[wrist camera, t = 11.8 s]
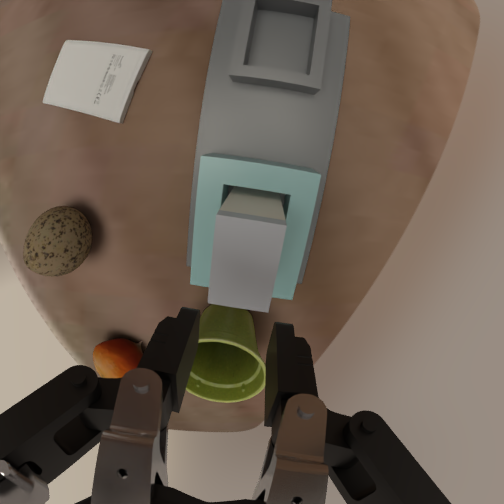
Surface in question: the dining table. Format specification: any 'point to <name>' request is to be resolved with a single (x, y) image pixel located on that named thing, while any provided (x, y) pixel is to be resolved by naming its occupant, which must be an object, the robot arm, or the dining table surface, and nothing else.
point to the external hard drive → (96, 78)
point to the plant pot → (226, 357)
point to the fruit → (116, 357)
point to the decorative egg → (57, 242)
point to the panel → (268, 122)
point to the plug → (247, 249)
